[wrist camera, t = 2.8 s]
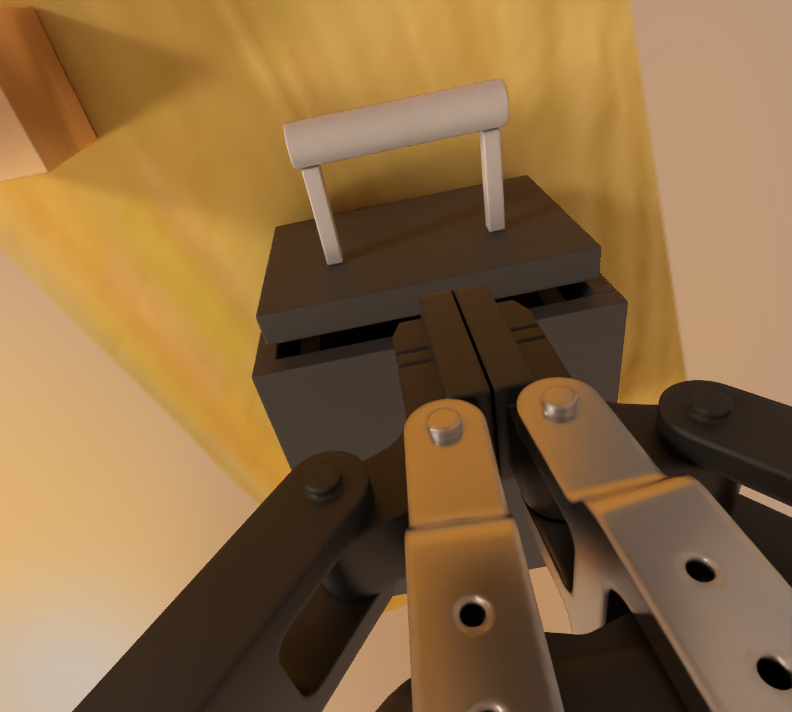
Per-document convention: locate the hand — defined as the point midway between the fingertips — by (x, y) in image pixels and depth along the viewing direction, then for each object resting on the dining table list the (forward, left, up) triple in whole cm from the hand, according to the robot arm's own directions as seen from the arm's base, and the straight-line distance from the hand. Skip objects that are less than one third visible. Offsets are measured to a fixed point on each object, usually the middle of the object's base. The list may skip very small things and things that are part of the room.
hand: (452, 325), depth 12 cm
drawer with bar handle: (+6, 0, -13) cm, 14 cm away
